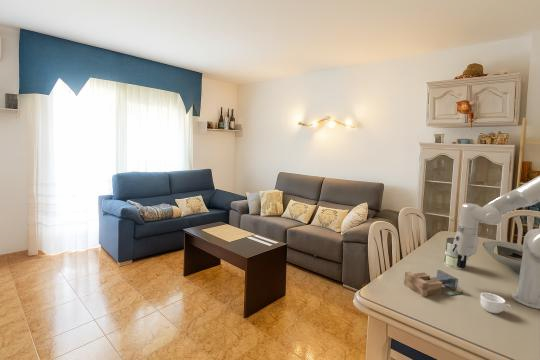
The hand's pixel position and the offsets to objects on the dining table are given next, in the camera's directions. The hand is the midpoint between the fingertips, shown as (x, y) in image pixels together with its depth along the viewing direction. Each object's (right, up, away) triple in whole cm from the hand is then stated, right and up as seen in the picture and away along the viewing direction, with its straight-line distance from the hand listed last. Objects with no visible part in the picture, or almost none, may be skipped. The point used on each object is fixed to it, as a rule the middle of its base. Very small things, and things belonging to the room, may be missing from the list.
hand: (460, 267), depth 137 cm
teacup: (-1, -11, -21) cm, 24 cm away
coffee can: (+11, -6, +22) cm, 25 cm away
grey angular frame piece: (-12, -8, -4) cm, 15 cm away
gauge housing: (-16, -8, -5) cm, 19 cm away
